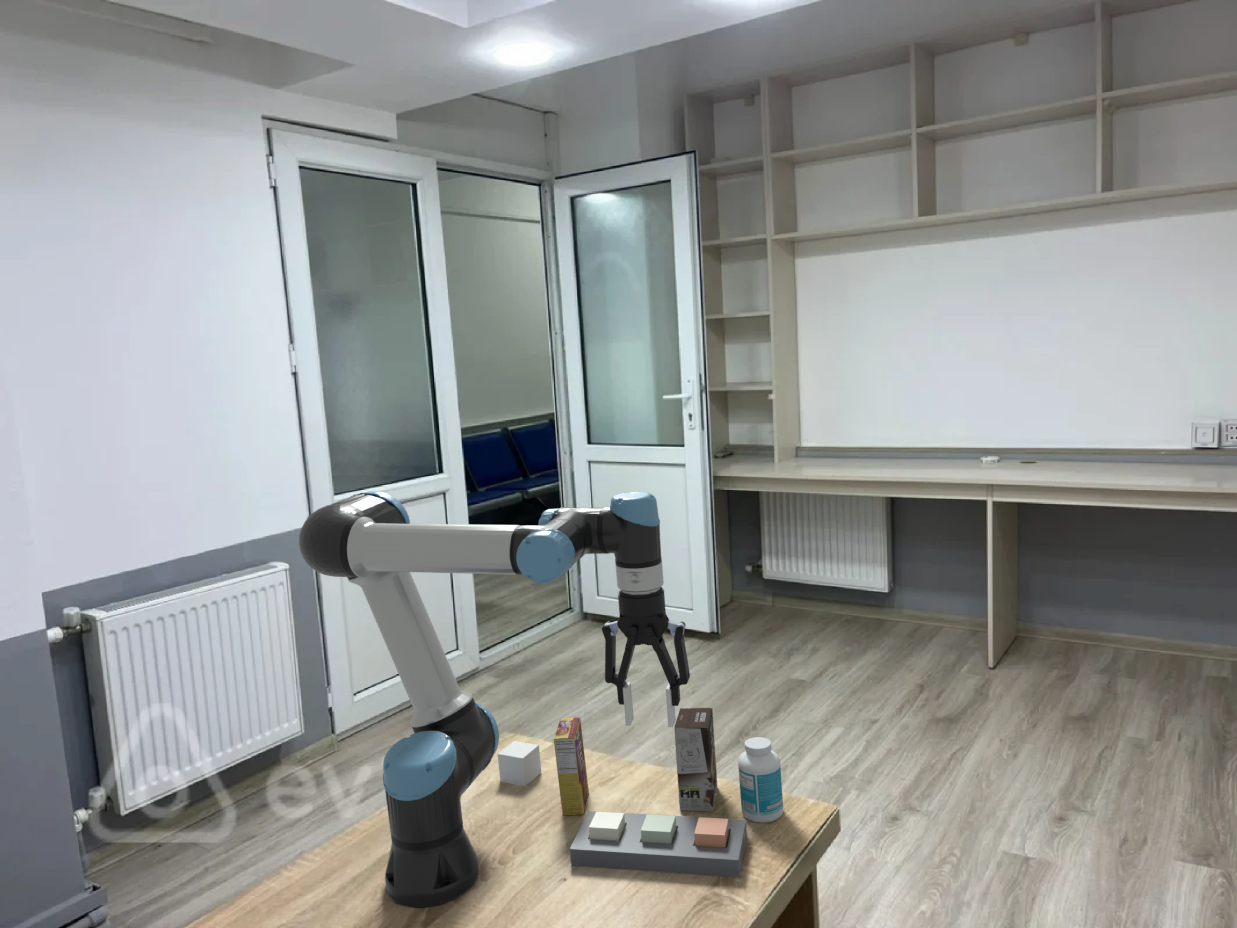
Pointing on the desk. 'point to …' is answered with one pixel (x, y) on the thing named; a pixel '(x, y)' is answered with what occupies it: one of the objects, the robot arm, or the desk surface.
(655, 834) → the sage key
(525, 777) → the white cube
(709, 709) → the coffee box
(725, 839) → the terracotta key
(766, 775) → the pill bottle
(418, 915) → the desk surface
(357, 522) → the robot arm
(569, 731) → the candy box
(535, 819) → the desk surface
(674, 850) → the keypad
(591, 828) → the cream key
